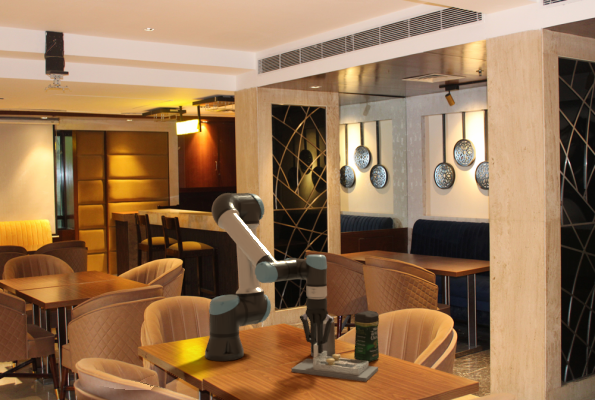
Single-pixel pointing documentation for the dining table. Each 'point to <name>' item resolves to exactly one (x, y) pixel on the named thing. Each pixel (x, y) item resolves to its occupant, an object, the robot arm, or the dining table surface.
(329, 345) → the pillar candle
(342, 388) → the dining table surface
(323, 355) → the keyhole panel
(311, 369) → the board
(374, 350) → the coffee jar
